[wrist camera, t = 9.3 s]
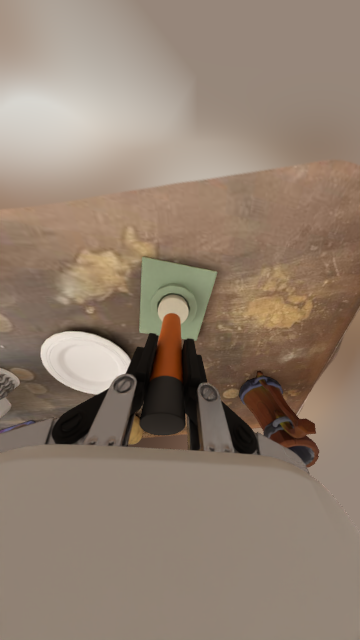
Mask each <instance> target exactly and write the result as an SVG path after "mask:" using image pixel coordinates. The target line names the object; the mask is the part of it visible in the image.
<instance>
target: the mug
mask: <svg viewBox="0 0 360 640" xmlns="http://www.w3.org/2000/svg"><path fill="white" fill-rule="evenodd" d="M262 375H263V373H262V372H261V371H258V372H257V378H255V379H251V380H248V381H247V382H246V383H245V384H244V385H243V386H242V387H241V390H240V393H239V397H240V399H241V401H242V402H243V404H245V405H246V406H247V407H248V408H249V409H250V411H251V412H252V413H253V414H254V416H255V417H256V419H257V420H258V422H259V424H260V426H261V428H262V429H263V431H264V436H266V437H267V438H269V439H271V440H273V441H275V442H277V443H278V444H280V445H282V446H284V447H286V448H288V449H289V450H291V451H293V452H294V453H295V454H297V455H298V456H299V457H300V458H301V459H302V461H303V462H304V464H305V465H306V467H310V466H312V465H314V464H315V462H316V461H317V459H318V457H319V456H318V453H319V449H318V447H317V446H316V444H315V443H314V442H313V441H312V440H311V439H309V438H308V437H307V436H306V435H307V434H315V433H316V431H315V424H314V423H313V422H311V421H309V420H307V419H299V418H298V417H297V416H296V414H295V413H294V412H293V411H292V410H291V409H290V407H289V406H288V404H287V403H286V401H285V400H284V398H283V396H282V394H283V391H282V388H281V386H280V384H279V383H278V382H277V381H276V380H274V379H272V378H269V377H262Z"/></svg>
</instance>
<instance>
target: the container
mask: <svg viewBox="0 0 360 640" xmlns="http://www.w3.org/2000/svg"><path fill="white" fill-rule="evenodd" d="M10 408H11V404H10V402H9V401H8V400H7V398H3V399H1V400H0V418H1V417H3V416H4V415H5V414H6V413H7V412H8V411H9V410H10Z"/></svg>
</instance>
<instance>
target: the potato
mask: <svg viewBox="0 0 360 640" xmlns="http://www.w3.org/2000/svg"><path fill="white" fill-rule="evenodd" d="M139 421H140V419H139V418H138V417H137V416H136V415H135V417H134V421H133V426H132V430H131V434H130V439H129V443H128V444H135V443H137V442H139V441H140V439H141V438H142V435H143V429H142V428H141V427H140V425H139Z"/></svg>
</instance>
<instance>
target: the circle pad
mask: <svg viewBox="0 0 360 640" xmlns="http://www.w3.org/2000/svg"><path fill="white" fill-rule="evenodd" d="M169 313H175V314H177V315H178V316H179V317H180V320H181V324H182V323H183V322H184V321H185V320H186V319H187V317H188V313H189V311H188V305H187V302H186V301H185V299H184V298H182V297H181V296H179V295H175V294H172V295H168V296H166V297H164V298H163V299H162V300H161V302H160V304H159V307H158V316H159V318H160V319H161V321H162V322H163V318H164V317H165V315H167V314H169Z"/></svg>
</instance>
